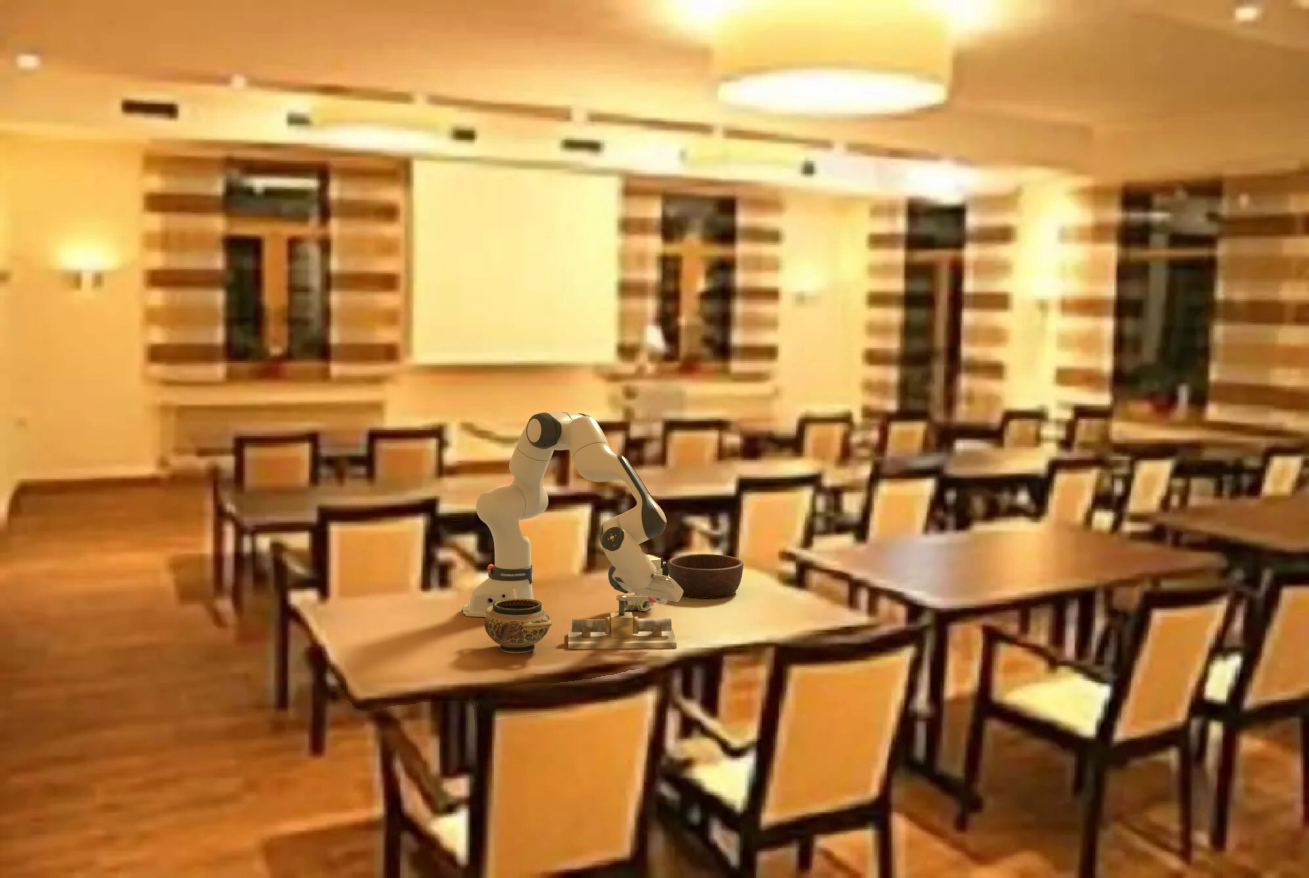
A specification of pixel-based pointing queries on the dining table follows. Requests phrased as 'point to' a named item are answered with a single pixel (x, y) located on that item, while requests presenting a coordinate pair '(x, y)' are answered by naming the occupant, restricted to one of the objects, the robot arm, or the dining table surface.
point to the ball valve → (637, 604)
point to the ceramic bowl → (516, 624)
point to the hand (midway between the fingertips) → (662, 601)
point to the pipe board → (621, 643)
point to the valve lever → (636, 598)
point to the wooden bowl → (706, 574)
